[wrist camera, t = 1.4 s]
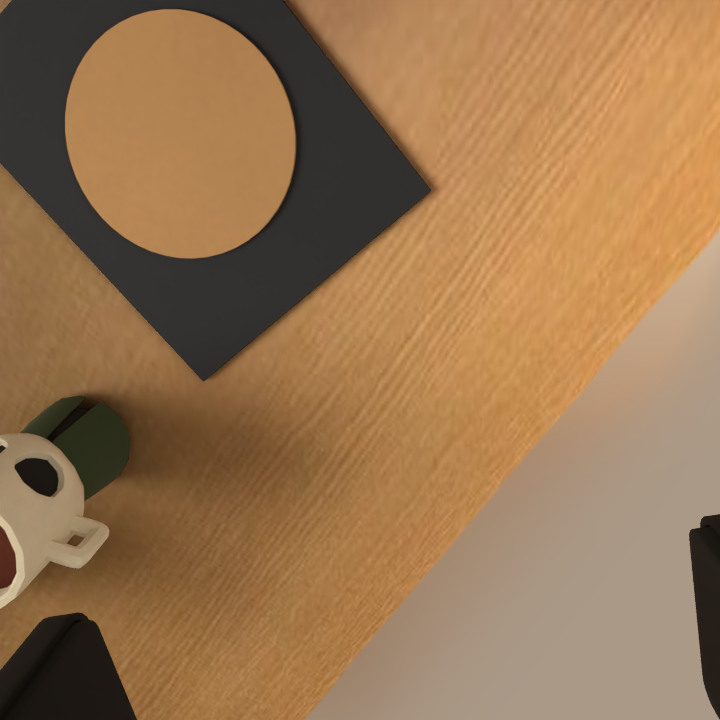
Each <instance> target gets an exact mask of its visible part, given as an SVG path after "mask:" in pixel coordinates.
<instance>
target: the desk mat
mask: <svg viewBox="0 0 720 720" xmlns="http://www.w3.org/2000/svg"><path fill="white" fill-rule="evenodd" d="M0 163H1V164H2V165H3V166H4V167H5V169H6V170H7V171H8V172H9V173H10V174H11V175H12V176H13V177H14V178H15V179H16V180H17V181H18V183H19V184H20V185H21V186H22V187H23V188H24V189H25V190H26V191H27V192H28V193H29V194H30V195H31V197H32V198H33V199H34V200H35V201H36V202H37V203H38V204H39V205H40V206H41V207H42V208H43V209H44V210H45V212H46V213H47V214H48V215H49V216H50V217H51V218H52V219H53V220H54V221H55V222H56V223H57V224H58V226H59V227H60V228H61V229H62V230H63V231H64V232H65V233H66V234H67V235H68V236H69V237H70V238H71V240H72V241H73V242H74V243H75V244H76V245H77V246H78V247H79V248H80V249H81V250H82V251H83V252H84V254H85V255H86V256H87V257H88V258H89V259H90V260H91V261H92V262H93V263H94V264H95V265H96V266H97V268H98V269H99V270H100V271H101V272H102V273H103V274H104V275H105V276H106V277H107V278H108V279H109V280H110V281H111V283H112V284H113V285H114V286H115V287H116V288H117V289H118V290H119V291H120V292H121V293H122V294H123V295H124V297H125V298H126V299H127V300H128V301H129V302H130V303H131V304H132V305H133V306H134V307H135V308H136V309H137V311H138V312H139V313H140V314H141V315H142V316H143V317H144V318H145V319H146V320H147V321H148V322H149V323H150V325H151V326H152V327H153V328H154V329H155V330H156V331H157V332H158V333H159V334H160V335H161V336H162V337H163V339H164V340H165V341H166V342H167V343H168V344H169V345H170V346H171V347H172V348H173V349H174V350H175V351H176V353H177V354H178V355H179V356H180V357H181V358H182V359H183V360H184V361H185V362H186V363H187V364H188V365H189V366H190V368H191V369H192V370H193V371H194V372H195V373H196V374H197V375H198V376H199V377H200V378H201V379H202V380H203V381H205V380H206V379H207V378H208V377H210V376H211V375H212V374H213V373H214V372H216V371H217V370H218V369H219V368H220V367H221V366H223V365H224V364H225V363H226V362H227V361H229V360H230V359H231V358H232V357H233V356H235V355H236V354H237V353H238V352H239V351H241V350H242V349H243V348H244V347H245V346H247V345H248V344H249V343H250V342H251V341H253V340H254V339H255V338H256V337H257V336H258V335H260V334H261V333H262V332H263V331H264V330H266V329H267V328H268V327H269V326H270V325H272V324H273V323H274V322H275V321H276V320H278V319H279V318H280V317H281V316H282V315H284V314H285V313H286V312H287V311H288V310H289V309H291V308H292V307H293V306H294V305H295V304H297V303H298V302H299V301H300V300H301V299H303V298H304V297H305V296H306V295H307V294H309V293H310V292H311V291H312V290H313V289H315V288H316V287H317V286H318V285H319V284H321V283H322V282H323V281H324V280H325V279H326V278H328V277H329V276H330V275H331V274H332V273H334V272H335V271H336V270H337V269H338V268H340V267H341V266H342V265H343V264H344V263H346V262H347V261H348V260H349V259H350V258H352V257H353V256H354V255H355V254H356V253H357V252H359V251H360V250H361V249H362V248H363V247H365V246H366V245H367V244H368V243H369V242H371V241H372V240H373V239H374V238H375V237H377V236H378V235H379V234H380V233H381V232H383V231H384V230H385V229H386V228H387V227H389V226H390V225H391V224H392V223H393V222H394V221H396V220H397V219H398V218H399V217H400V216H402V215H403V214H404V213H405V212H406V211H408V210H409V209H410V208H411V207H412V206H414V205H415V204H416V203H417V202H418V201H420V200H421V199H422V198H423V197H424V196H425V195H427V194H428V193H429V192H430V191H431V190H430V188H429V187H428V186H427V184H426V183H425V182H424V181H423V179H422V178H421V177H420V175H419V174H418V173H417V172H416V170H415V169H414V168H413V167H412V165H411V164H410V163H409V161H408V160H407V159H406V158H405V156H404V155H403V154H402V152H401V151H400V150H399V149H398V147H397V146H396V145H395V143H394V142H393V141H392V140H391V138H390V137H389V136H388V134H387V133H386V132H385V131H384V129H383V128H382V127H381V126H380V124H379V123H378V122H377V120H376V119H375V118H374V117H373V115H372V114H371V113H370V111H369V110H368V109H367V108H366V106H365V105H364V104H363V102H362V101H361V100H360V99H359V97H358V96H357V95H356V93H355V92H354V91H353V90H352V88H351V87H350V86H349V85H348V83H347V82H346V81H345V79H344V78H343V77H342V76H341V74H340V73H339V72H338V70H337V69H336V68H335V67H334V65H333V64H332V63H331V61H330V60H329V59H328V58H327V56H326V55H325V54H324V52H323V51H322V50H321V49H320V47H319V46H318V45H317V44H316V42H315V41H314V40H313V38H312V37H311V36H310V35H309V33H308V32H307V31H306V29H305V28H304V27H303V26H302V24H301V23H300V22H299V20H298V19H297V18H296V17H295V15H294V14H293V13H292V12H291V10H290V9H289V8H288V6H287V5H286V4H285V3H284V1H283V0H12V1H11V2H10V3H9V4H8V6H7V7H6V8H5V9H4V10H3V11H2V13H1V14H0Z"/></svg>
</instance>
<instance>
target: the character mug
mask: <svg viewBox="0 0 720 720" xmlns="http://www.w3.org/2000/svg"><path fill="white" fill-rule="evenodd" d="M84 399H85V397H82V396H77V397H69V398H62V399H60V400H59V401H57V402H56V403H54V404H53V405H51V406H50V407H48V408H47V409H45V410H44V411H43V412H42V413H41V414H40V415H39V416H37V417H36V418H35V419H34V420H33V421H32V422H30V423H29V424H28V426H27V427H26V428H25V429H24V430H23V431H22V432H21V433H17V434H4V435H0V609H1V608H2V607H3V606H5V605H6V604H8V603H9V602H10V601H12V600H13V599H14V598H16V597H17V596H18V595H19V594H20V593H21V592H22V591H23V590H24V589H25V588H26V587H27V586H28V585H29V584H30V583H31V582H32V580H33V579H34V578H35V577H36V576H37V575H38V574H39V573H40V572H41V571H42V569H43V568H44V567H45V566H46V565H47V564H48V563H49V562H50V561H51V562H55V563H58V564H61V565H64V566H67V567H70V568H81V567H82V566H84V565H85V564H87V562H88V561H89V560H90V559H91V558H92V556H93V555H94V554H95V553H96V551H97V550H98V549H99V548H100V547H101V545H102V544H103V543H104V542H105V540H106V539H107V538H108V536H109V529H108V526H106V525H105V524H103V523H101V522H98V521H95V520H92V519H89V518H86V517H83V514H84V501H86V500H87V499H88V498H90V497H91V496H93V495H94V494H96V493H97V492H98V491H100V490H101V489H103V488H104V487H106V486H107V485H108V484H109V483H111V482H112V481H113V480H114V479H116V478H117V477H118V476H119V475H120V474H121V472H122V470H123V469H124V467H125V465H126V463H127V461H128V459H129V447H130V436H129V434H128V432H127V430H126V428H125V426H124V424H123V422H122V420H121V418H120V417H119V416H118V415H117V414H115V413H114V412H113V411H112V410H111V409H110V408H109V407H108V406H107V405H105V404H103V403H100V402H99V403H98V404H97V405H95V406H94V407H93V408H92V409H91V410H89V411H87V410H86V409H75V408H76V407H77V406H78V405H79V404H80V403H81V402H82V401H83V400H84ZM74 534H75V535H78V536H81V537H84V539H83V541H82V542H81V543H80V544H79V545H78V546H72V545H69V544H66V543H67V542H68V541H69V540H70V539H71V538H72V536H73V535H74Z"/></svg>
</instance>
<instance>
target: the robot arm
mask: <svg viewBox="0 0 720 720" xmlns="http://www.w3.org/2000/svg"><path fill="white" fill-rule="evenodd" d="M689 541H690V551H691V561H692V571H693V582H694V592H695V602H696V612H697V623H698V633H699V643H700V654H701V664H702V675H703V681H704V685H705V689H706V692H707V694H708V697H709V700H710V702H711V705H712V707H713V708H714V710H715V712H716V714H717V716H718V717H719V719H720V514H718V515H712V516H705V517H703V518H702V519H701V523H700V528H696V529H692V530H690V533H689ZM0 720H137V719H136V717H135V714H134V712H133V709H132V707H131V704H130V702H129V700H128V697H127V695H126V692H125V690H124V688H123V685H122V683H121V680H120V678H119V676H118V673H117V671H116V668H115V666H114V663H113V661H112V659H111V656H110V654H109V651H108V649H107V647H106V644H105V642H104V639H103V637H102V635H101V632H100V630H99V627H98V626H97V624H96V623H95V622H94V621H91V620H89V619H88V618H87V616H85V615H84V614H83V613H72V614H66V615H59V616H53V617H48V618H45V619H43V620H42V621H41V622H40V623H39V624H38V625H37V626H36V627H35V629H34V630H33V631H32V632H31V634H30V635H29V636H28V637H27V638H26V640H25V641H24V642H23V643H22V645H21V646H20V647H19V648H18V649H17V651H16V652H15V653H14V654H13V656H12V657H11V658H10V659H9V661H8V662H7V663H6V664H5V665H4V667H3V668H2V669H1V670H0Z"/></svg>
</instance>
